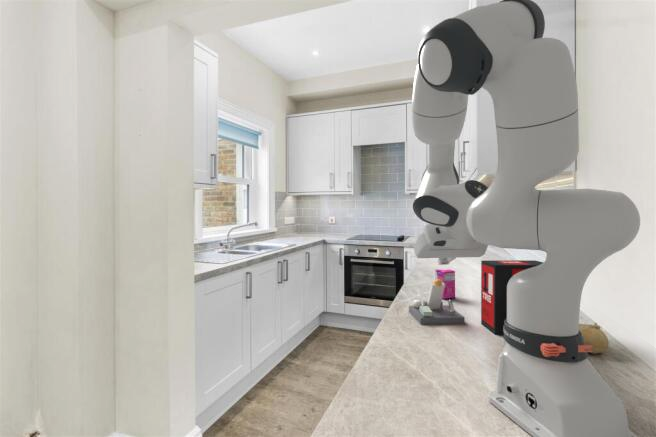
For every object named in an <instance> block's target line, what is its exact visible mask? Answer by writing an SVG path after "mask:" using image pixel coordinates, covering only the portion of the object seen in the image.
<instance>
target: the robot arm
mask: <svg viewBox="0 0 656 437" xmlns="http://www.w3.org/2000/svg"><path fill="white" fill-rule="evenodd" d="M545 25H546V22H545V16H544V13H543V10H542V9H541V7H540V6H539V5H538V4H537V3H536V2H535V1H533V0H501V1H499V2H494V3H490V4H486V5H478V6H476V7H473V8H471V9H468V10H466V11H463V12H461V13H459V14H457V15H455V16H453V17H450V18H447V19H444V20H442V21H441V22H439V23H438V24H436V25H435V26H433V27H432V28H431V29H429V31H427V33H426V34H424V36H422V38H421V41H420V43H419V45H418V46H419V47H418V49H417V65H416V69H415V74H414V79H413V87H412V96H411V120H412V127H413V132H414V136H415V137H416V138H417V140H419V141H420V142H422V143H423V144H426V145H428V164H427V167H426V168H425V169H424V171H423V172H422V177H421V179H420V180H421V181H420V184H419V186H418V190H417V191H416V194H415V196H414V197H415V198H414V200H413V204H412V210H413V213H414V215H416V217H417V218H419V220H421V221H422V222H425V223H426V224H424V225H423V232H421V233H420V234H419V235H418V237H417V238H416V241H415V243H414V245H413V251H414V254H415V255H414V256H415V257H416V258H417V259H437V264H438V265H441V266H442V265H448V266H449V265H450V263H451V262H452V261H454V260H456V259H457V258H459V259H460V258H481V257H482V256H484V255H485V253H486V251H487V250H488V246H492V247H494V248H495V247H496V248H500V249H511V250H512V249H514V250H515V249H516V250H532V251H541V252H545V253H546V257H545V261H543V262H544V263H542V264H541V265H538V266H535V267H532V268H529V269H526V270H523V271H521V272H518V273H516V274H515V275H513V276H512V277H511V278H510V280H509V282H508V284H507V319H505V321H504V327H503V331H504V335H503V339H504V341H505V344H504V346H503V349H502V350H501V352H500V354H499V355H498V358H497V359H498V360H497V365H496V366H497V367H496V368H497V369H496V379H495V387H494V388H495V389H494V390H493V391H492V392H491V393H489V397H488V401H489V403H491V404H492V406H495V408H496V409H498V410H499V411H501V412H502V413H503V414H504V415H506V416H507V417H508V418H510V419H511V420H512V421H513V422H515V424H517V425H518V426H519V427H520V428H521V429H523V430H524V431H525V432H527V433H528V434H529V435H531V436H532V437H638V436H637V435H636V434H635V433H634V432H633V431H632V430H631V429H630V428H629V419H628V415H627V414H628V413H627V410H626V408H625V405H624V403H623V402H622V401H621V400H620V397H619V393H618V392H617V389H615V388H614V387H613V386H610V385H609V384H608V383H607V382H606V381H605V379H604V378H603V377H602V375H601V374H600V373H599V372H598V370H597V369H596V368H595V366H594V365H593V364H592V363H591V361H590V360H589V352H593V351H591V350H587V349H588V348H591V347H593V346H592V345H585V342H584V339H583V336H582V333H581V331H580V330H579V324H580V309H581V301H582V300H581V299H582V295H583V294H582V293H583V289H584V286H585V284H586V281H587V279H588V278H589V276H590V274H591V273H592V272H593V271H594V270H595V269H596V268H597V266H598V265H600V264H601V263H602V262H604V261H605V260H606V259H607V258H608V257H610V256H612V255H614V254H616V253H618V252H620V251H622V250H624V249H626V248H627V247H628V246H629V245H630V244H631V243H632V242H633V241H634V240H635V239H636V237H637V235H638V233H639V231H640V228H641V227H640V226H641V217H640V216H641V215H640V212H639V210H638V209H639V208H638V207H637V205H636V204H635V202H633V200H632V199H631V198H629V197H628V196H627V195H626V194H624V193H623V192H620V191H613V190H606V189H604V190H603V189H597V188H596V189H594V188H573V189H571V188H570V189H569V188H567V189H548V190H547V189H546V190H545V189H544V190H541V189H537V188H536V187H537V186H538V185H540V184H541V183H544V182H545V181H547V180H549V179H551V178H554V177H556V176H557V175H560V174H562V173H563V172H564V171H565V170H567V169H568V168H570V167H571V165H572V164H574V162H575V161H576V159H577V157H578V154H579V152H580V145H579V144H580V141H579V140H580V138H579V137H580V136H579V135H580V134H579V132H580V131H579V94H578V86H577V78H576V73H575V68H574V64H573V60H572V55H571V53H570V49H569V47H568V46H567V44H566V43H565V42H563V41H562V40H561V39H557V38H553V37H544V33H545V29H546V28H545V27H546V26H545ZM481 89H484V90H485V91H487V93H488V94H489V95H490V97H491V99H492V105H493V110H494V111H493V112H494V121H495V130H496V132H495V133H496V139H497V140H496V141H497V168H496V173H495V175H494V178H493V180H492V181H491V184H490V185H489V186H487V185H485V184H484V183H483V182H481V181H478V180H475V179H468V180H467V181H464V182H462V183H460V175H459V173H458V171H457V168H456V167H455V162H454V161H455V149H456V148H455V147H456V140H458V139H459V138H460V137H461V134H462V131H463V128H464V125H465V121H466V116H467V113H468V112H467V111H468V105H469V104H468V102H469V96H470V95H475V94H476V93H478V91H480V90H481Z"/></svg>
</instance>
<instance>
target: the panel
mask: <svg viewBox="0 0 656 437" xmlns="http://www.w3.org/2000/svg"><path fill="white" fill-rule="evenodd" d="M422 304H423V305H422V306H427V301H426V300H423V301H422ZM419 309H420V308H416V307H413V305H409V306H408V312H409V313H410V314H411V316H412V317H413V318H414V319H415V320H416V321H417V323H419V325H455V324H456V325H457V324H459V325H460V324H464V325H465V322H466V321H465V316H463V315H462V314H461V313H459V312H458V311H457V310H455V311H456V313H449V304H448V305H447V304H444V303H443V301H442V300H441V304H440V309H431V311H432V316H423V315H422V313H421V312H420V310H419Z"/></svg>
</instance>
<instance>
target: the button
mask: <svg viewBox="0 0 656 437" xmlns="http://www.w3.org/2000/svg"><path fill="white" fill-rule="evenodd" d="M412 303H413V305H412V306H413V307H416V308H420V306H423V305H422V304H423V301H422V300H421V299H413V302H412Z"/></svg>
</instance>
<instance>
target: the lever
mask: <svg viewBox="0 0 656 437" xmlns="http://www.w3.org/2000/svg"><path fill="white" fill-rule="evenodd" d="M444 287H445V284H444V282H442V281H441V280H440V279H436V280H435V279H434V281H433V282H432V281H431V282H430V286H429V292H428V296H427V301H426V302H427V306H428V307H429V308H430V309H440V304H441V301H442V300H443V299H442V296H443V292H444Z"/></svg>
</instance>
